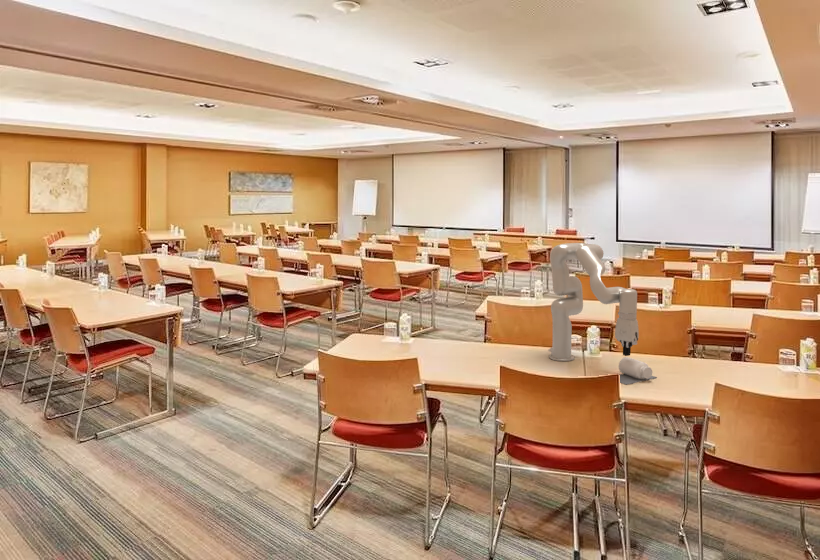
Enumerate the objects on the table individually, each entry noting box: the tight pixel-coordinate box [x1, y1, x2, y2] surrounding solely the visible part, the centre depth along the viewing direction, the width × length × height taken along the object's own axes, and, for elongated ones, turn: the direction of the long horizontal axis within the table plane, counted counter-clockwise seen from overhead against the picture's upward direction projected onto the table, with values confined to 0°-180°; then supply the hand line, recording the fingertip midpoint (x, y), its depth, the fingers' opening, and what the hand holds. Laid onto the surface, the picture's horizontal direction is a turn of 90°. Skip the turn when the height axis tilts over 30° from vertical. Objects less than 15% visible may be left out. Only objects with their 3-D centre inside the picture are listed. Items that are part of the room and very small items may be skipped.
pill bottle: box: [618, 356, 653, 379], centre depth 269 cm, size 8×8×15 cm
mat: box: [619, 373, 658, 386], centre depth 269 cm, size 12×20×1 cm, turn 119°
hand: (626, 355), depth 270 cm, fingers closed
